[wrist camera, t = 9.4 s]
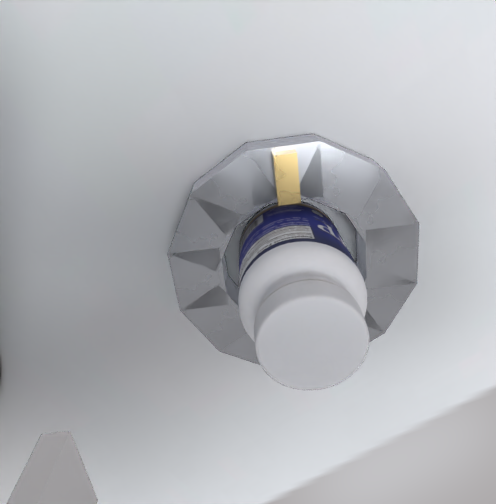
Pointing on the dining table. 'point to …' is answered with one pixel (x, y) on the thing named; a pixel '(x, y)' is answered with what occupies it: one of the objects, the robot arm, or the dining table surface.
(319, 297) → the pill bottle
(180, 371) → the dining table surface
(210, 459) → the dining table surface
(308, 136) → the hub
